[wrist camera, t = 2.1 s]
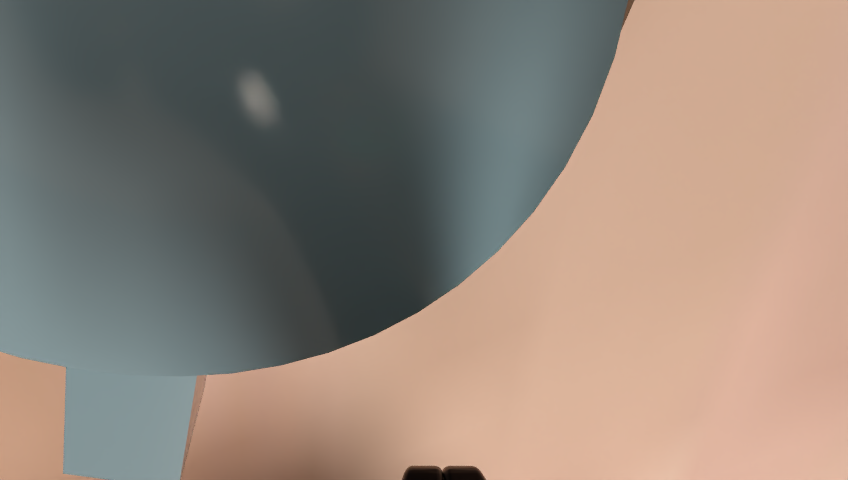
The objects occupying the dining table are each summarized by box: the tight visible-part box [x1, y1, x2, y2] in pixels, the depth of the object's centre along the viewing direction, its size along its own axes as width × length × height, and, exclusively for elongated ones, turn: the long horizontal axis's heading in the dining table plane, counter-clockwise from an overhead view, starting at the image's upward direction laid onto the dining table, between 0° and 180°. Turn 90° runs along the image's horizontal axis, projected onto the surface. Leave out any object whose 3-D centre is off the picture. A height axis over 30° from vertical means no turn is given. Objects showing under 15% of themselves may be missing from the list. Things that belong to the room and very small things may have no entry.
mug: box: [0, 0, 628, 480], centre depth 8 cm, size 11×7×6 cm, turn 164°
